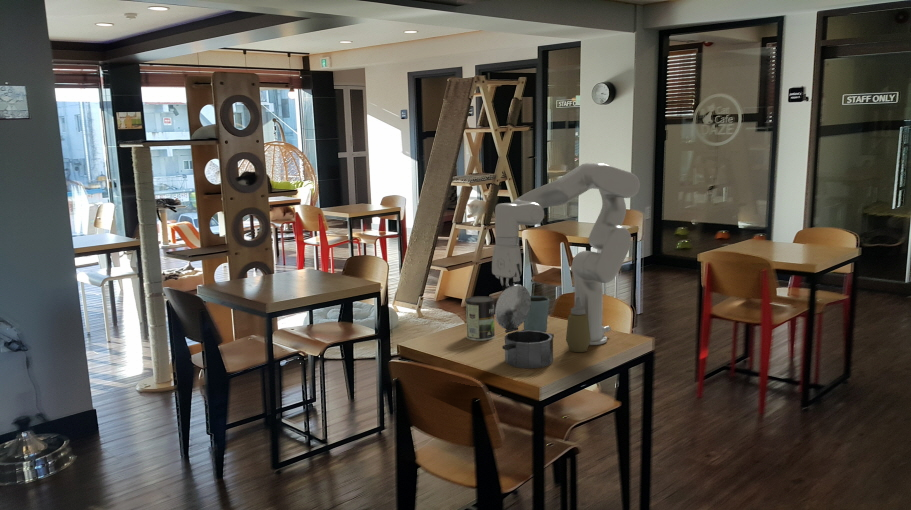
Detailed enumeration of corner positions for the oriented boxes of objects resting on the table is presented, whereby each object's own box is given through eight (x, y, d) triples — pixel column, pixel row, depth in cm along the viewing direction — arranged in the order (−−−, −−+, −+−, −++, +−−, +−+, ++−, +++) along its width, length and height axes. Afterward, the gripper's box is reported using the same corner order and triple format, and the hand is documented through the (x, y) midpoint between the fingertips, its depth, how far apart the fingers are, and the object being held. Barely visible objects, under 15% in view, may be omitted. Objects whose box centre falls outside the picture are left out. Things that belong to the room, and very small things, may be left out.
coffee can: (496, 333, 260) (496, 296, 258) (492, 341, 250) (491, 302, 248) (469, 332, 262) (468, 295, 260) (464, 340, 252) (463, 302, 250)
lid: (529, 327, 236) (523, 325, 238) (532, 281, 232) (526, 279, 234) (495, 336, 227) (489, 333, 229) (498, 288, 223) (492, 286, 225)
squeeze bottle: (585, 355, 231) (585, 301, 228) (562, 351, 235) (561, 299, 233) (594, 348, 238) (594, 296, 235) (571, 345, 242) (571, 294, 239)
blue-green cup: (517, 331, 262) (517, 299, 260) (529, 325, 270) (529, 294, 268) (542, 334, 256) (542, 302, 254) (553, 328, 265) (553, 296, 263)
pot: (534, 349, 239) (534, 326, 238) (568, 359, 227) (568, 335, 226) (488, 362, 227) (487, 338, 225) (521, 373, 215) (521, 348, 213)
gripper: (483, 240, 232) (484, 295, 234) (514, 245, 220) (514, 302, 223) (500, 238, 236) (501, 292, 239) (531, 242, 224) (531, 299, 227)
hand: (507, 297), depth 231 cm, fingers closed
